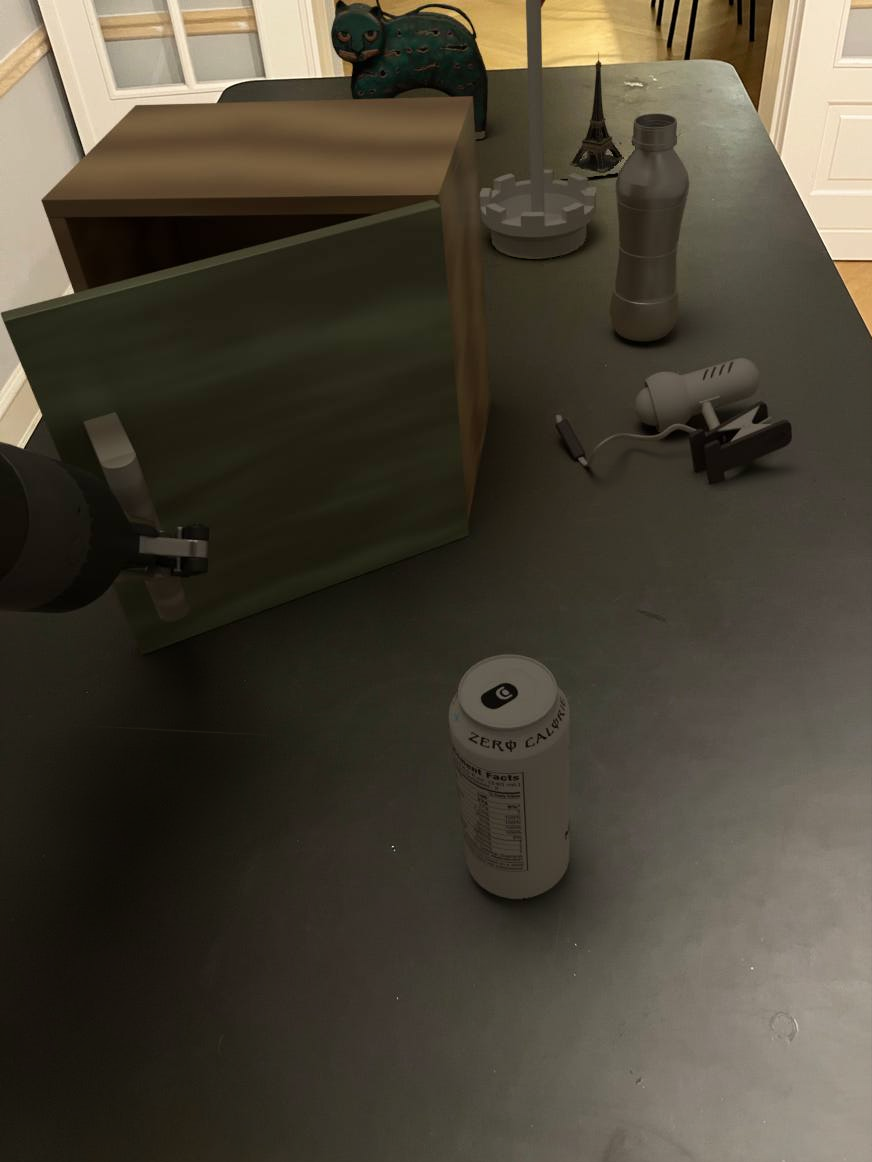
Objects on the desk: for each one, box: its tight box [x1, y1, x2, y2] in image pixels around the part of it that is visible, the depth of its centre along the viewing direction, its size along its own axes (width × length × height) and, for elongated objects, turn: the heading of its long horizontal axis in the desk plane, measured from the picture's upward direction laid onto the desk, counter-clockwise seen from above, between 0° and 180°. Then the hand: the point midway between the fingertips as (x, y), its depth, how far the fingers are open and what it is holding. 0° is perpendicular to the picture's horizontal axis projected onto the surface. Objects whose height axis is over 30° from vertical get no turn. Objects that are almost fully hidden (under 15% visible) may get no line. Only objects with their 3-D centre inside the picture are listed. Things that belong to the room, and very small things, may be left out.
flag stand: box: [479, 0, 597, 257], centre depth 110 cm, size 13×13×30 cm
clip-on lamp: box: [555, 357, 793, 485], centre depth 87 cm, size 12×6×18 cm
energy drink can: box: [448, 654, 571, 900], centre depth 56 cm, size 6×6×15 cm
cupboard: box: [40, 96, 492, 521], centre depth 82 cm, size 18×26×26 cm
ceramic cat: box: [330, 0, 489, 132], centre depth 138 cm, size 20×6×20 cm, turn 90°
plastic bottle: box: [609, 113, 690, 342], centre depth 96 cm, size 6×7×20 cm
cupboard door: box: [0, 200, 470, 656], centre depth 68 cm, size 7×26×26 cm, turn 117°
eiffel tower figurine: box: [569, 51, 632, 173], centre depth 130 cm, size 15×10×13 cm
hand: (160, 558), depth 65 cm, fingers closed on cupboard door, 2 cm apart
